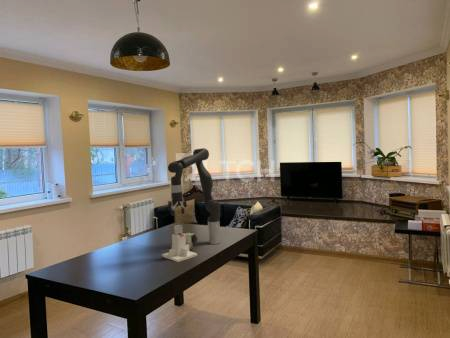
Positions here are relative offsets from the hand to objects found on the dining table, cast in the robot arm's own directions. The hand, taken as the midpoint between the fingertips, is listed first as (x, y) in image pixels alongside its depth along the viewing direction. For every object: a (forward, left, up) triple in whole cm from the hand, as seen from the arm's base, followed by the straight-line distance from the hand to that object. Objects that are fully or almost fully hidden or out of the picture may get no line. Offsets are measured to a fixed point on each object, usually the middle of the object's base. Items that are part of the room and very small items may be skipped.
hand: (177, 214), depth 231 cm
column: (0, 0, -27) cm, 27 cm away
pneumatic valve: (-16, -9, -29) cm, 35 cm away
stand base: (0, 0, -29) cm, 29 cm away
